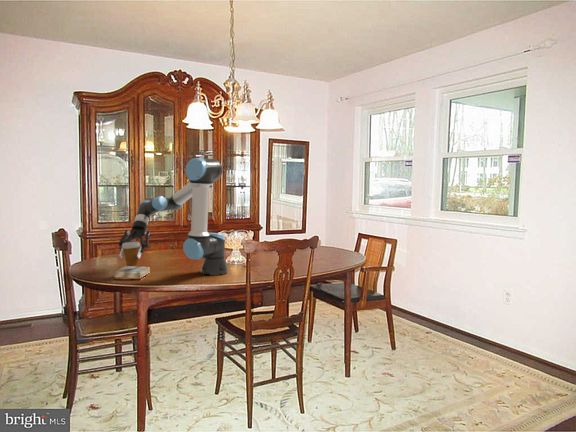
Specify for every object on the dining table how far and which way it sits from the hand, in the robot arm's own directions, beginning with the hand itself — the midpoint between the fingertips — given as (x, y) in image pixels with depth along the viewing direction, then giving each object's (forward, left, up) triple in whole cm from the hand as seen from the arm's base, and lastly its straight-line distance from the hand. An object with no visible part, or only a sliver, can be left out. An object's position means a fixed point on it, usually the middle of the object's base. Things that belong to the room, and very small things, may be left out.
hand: (129, 257), depth 229 cm
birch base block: (0, -3, -11) cm, 12 cm away
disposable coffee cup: (-1, -3, -5) cm, 6 cm away
